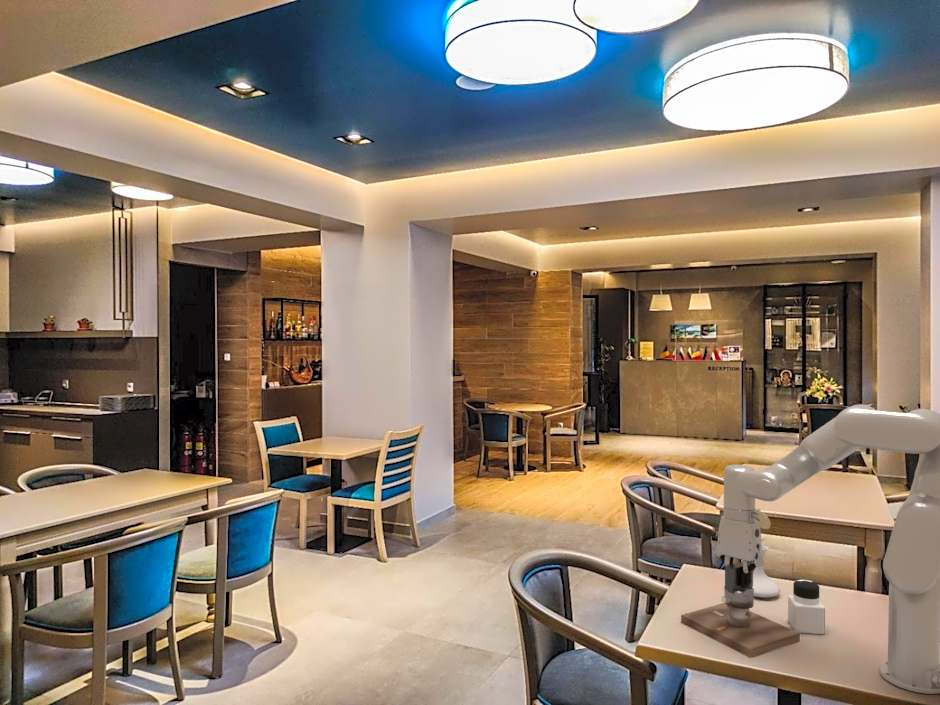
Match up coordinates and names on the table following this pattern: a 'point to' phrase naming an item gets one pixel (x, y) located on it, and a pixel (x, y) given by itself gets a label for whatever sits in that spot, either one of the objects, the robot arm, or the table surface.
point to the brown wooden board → (740, 629)
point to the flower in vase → (760, 580)
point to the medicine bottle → (806, 608)
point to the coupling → (737, 588)
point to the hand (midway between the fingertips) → (738, 583)
